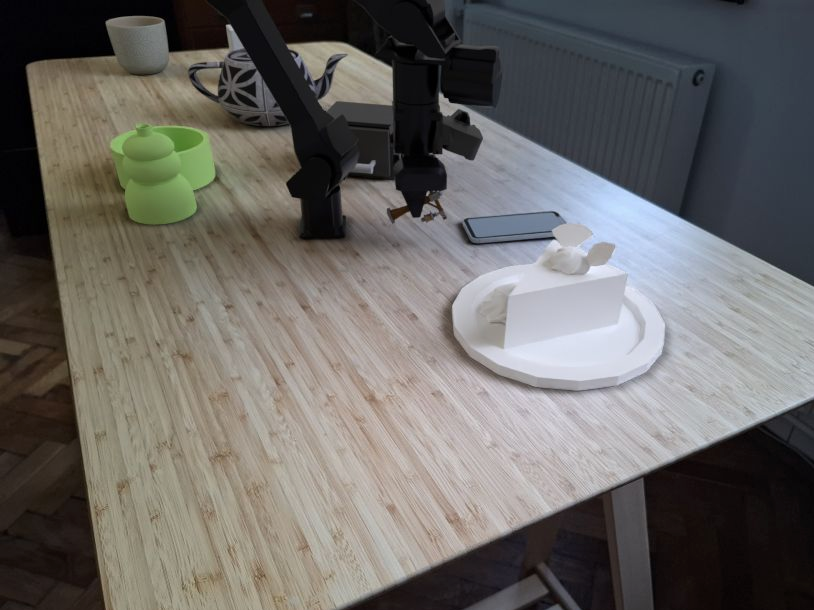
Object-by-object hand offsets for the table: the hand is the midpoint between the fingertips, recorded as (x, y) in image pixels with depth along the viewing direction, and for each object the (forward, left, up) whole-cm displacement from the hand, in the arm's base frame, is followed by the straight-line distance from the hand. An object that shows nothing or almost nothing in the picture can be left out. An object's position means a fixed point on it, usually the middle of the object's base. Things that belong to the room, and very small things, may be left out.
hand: (415, 214), depth 94 cm
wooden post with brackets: (0, 0, -1) cm, 1 cm away
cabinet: (+30, +6, -4) cm, 31 cm away
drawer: (+26, +7, -4) cm, 27 cm away
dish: (-22, -15, -4) cm, 27 cm away
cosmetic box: (+82, +33, -4) cm, 89 cm away
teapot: (+57, +24, -4) cm, 62 cm away
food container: (+20, +38, -4) cm, 43 cm away
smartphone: (+3, -15, -4) cm, 16 cm away
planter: (+92, +57, -4) cm, 108 cm away
